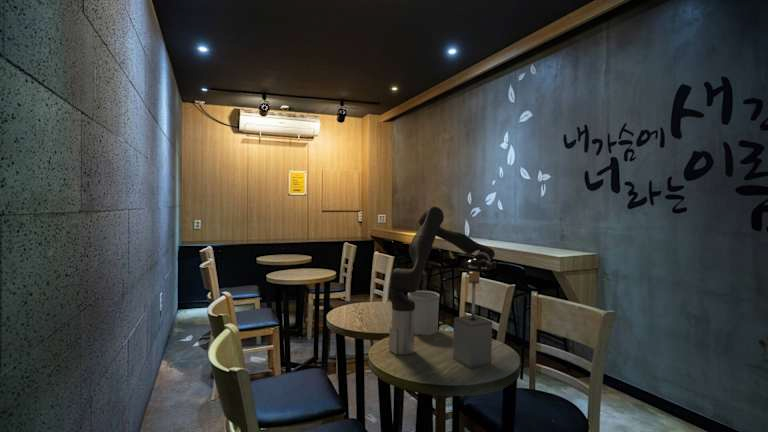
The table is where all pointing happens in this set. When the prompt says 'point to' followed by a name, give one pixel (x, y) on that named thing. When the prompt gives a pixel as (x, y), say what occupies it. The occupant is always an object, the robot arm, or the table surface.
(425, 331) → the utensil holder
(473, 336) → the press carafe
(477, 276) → the plunger
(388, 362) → the table surface
